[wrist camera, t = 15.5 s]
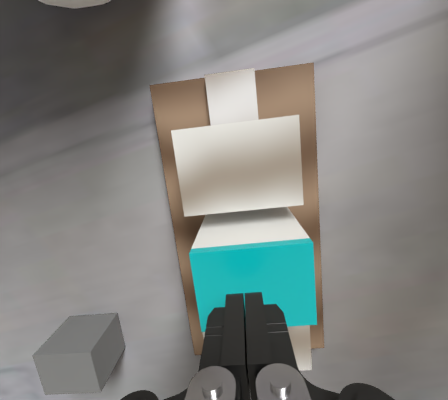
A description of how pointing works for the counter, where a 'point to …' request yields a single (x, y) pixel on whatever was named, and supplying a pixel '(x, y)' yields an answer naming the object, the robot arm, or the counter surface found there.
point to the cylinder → (74, 3)
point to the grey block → (80, 354)
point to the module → (255, 262)
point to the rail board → (271, 105)
